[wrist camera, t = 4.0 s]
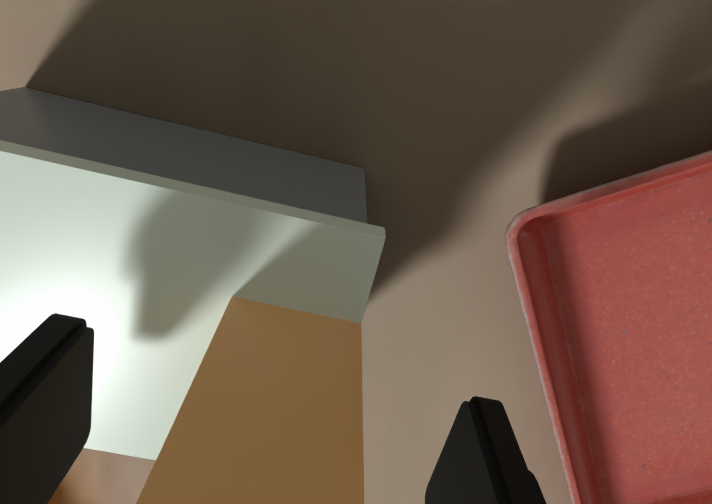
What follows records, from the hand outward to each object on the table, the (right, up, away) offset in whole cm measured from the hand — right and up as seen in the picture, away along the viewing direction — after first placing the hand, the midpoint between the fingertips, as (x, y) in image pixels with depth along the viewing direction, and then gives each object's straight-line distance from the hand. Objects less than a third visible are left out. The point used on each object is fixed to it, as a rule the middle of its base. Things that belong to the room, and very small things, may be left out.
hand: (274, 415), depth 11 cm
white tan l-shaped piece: (-4, +2, +2) cm, 5 cm away
